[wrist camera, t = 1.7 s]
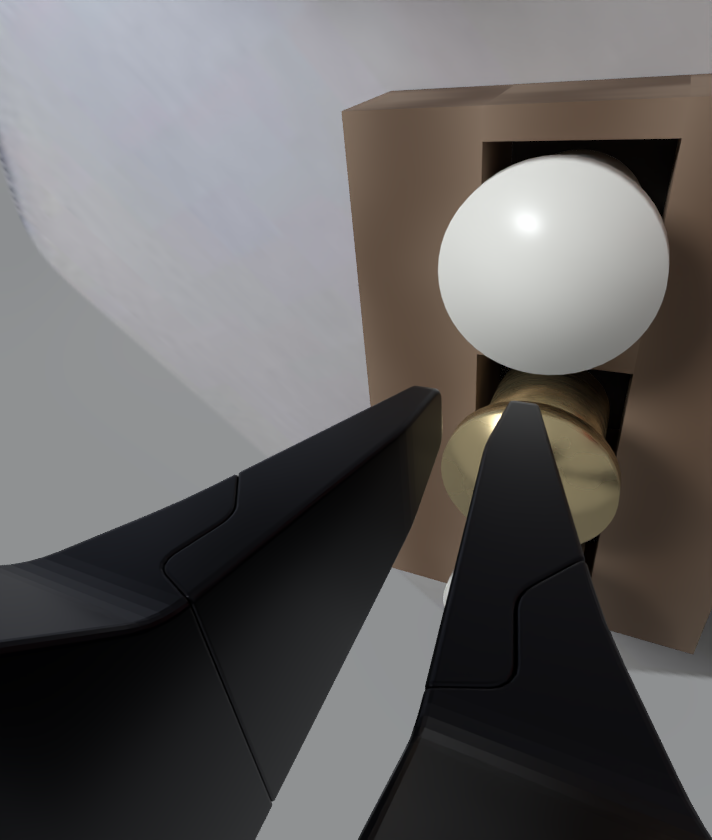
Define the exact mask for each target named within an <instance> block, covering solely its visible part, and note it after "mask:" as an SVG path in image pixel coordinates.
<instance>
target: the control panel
mask: <svg viewBox="0 0 712 840" xmlns="http://www.w3.org/2000/svg"><path fill="white" fill-rule="evenodd" d="M342 120H343V130H344V141H345V151H346V161H347V171H348V181H349V191H350V201H351V212H352V222H353V232H354V242H355V252H356V262H357V272H358V283H359V293H360V303H361V313H362V323H363V333H364V343H365V354H366V364H367V374H368V384H369V394H370V404H371V407H372V406H374V405H376V404H378V403H380V402H382V401H384V400H386V399H388V398H390V397H392V396H394V395H396V394H398V393H400V392H402V391H404V390H406V389H408V388H410V387H412V386H422V387H429V388H435V389H438V390H439V391H440V393H441V398H442V440H441V445H440V448H439V451H438V454H437V457H436V460H435V463H434V466H433V468H432V471H431V474H430V477H429V480H428V483H427V486H426V488H425V491H424V494H423V497H422V500H421V503H420V505H419V508H418V511H417V514H416V517H415V519H414V522H413V525H412V527H411V529H410V532H409V534H408V536H407V538H406V540H405V542H404V544H403V546H402V548H401V550H400V552H399V554H398V556H397V558H396V560H395V562H394V564H393V566H392V567H393V568H396V569H399V570H403V571H406V572H410V573H413V574H417V575H420V576H424V577H427V578H431V579H434V580H438V581H441V582H444V583H448V580H449V578H450V575H451V573H452V572H453V570H454V567H455V563H456V559H457V555H458V551H459V547H460V543H461V539H462V535H463V531H464V527H465V523H466V519H467V518H466V517H465V516H464V515H463V514H462V513H461V512H460V511H459V509H458V508H457V507H456V506H455V504H454V503H453V502H452V500H451V498H450V497H449V495H448V493H447V491H446V488H445V486H444V483H443V479H442V472H441V462H442V457H443V452H444V450H445V448H446V446H447V443H448V442H449V440H450V438H451V436H452V434H453V432H454V431H455V429H456V428H457V426H458V425H459V424H460V423H461V422H462V421H463V420H464V419H465V418H466V417H467V416H469V415H470V414H471V413H473V412H475V411H476V410H478V409H480V408H483V407H485V406H488V405H489V404H490V402H491V400H492V398H493V396H494V394H495V391H496V389H497V387H498V385H499V383H500V365H501V364H500V363H497V362H496V361H494V360H492V359H490V358H489V357H487V356H485V355H484V354H483V353H481V352H480V351H478V350H477V349H476V348H475V347H474V346H473V345H471V344H470V343H469V342H468V341H467V340H466V339H465V338H464V336H463V335H462V334H461V333H460V332H459V331H458V329H457V328H456V326H455V325H454V323H453V322H452V320H451V318H450V316H449V314H448V312H447V310H446V308H445V305H444V302H443V299H442V296H441V291H440V287H439V278H438V261H439V254H440V248H441V244H442V241H443V238H444V235H445V232H446V230H447V228H448V226H449V224H450V222H451V220H452V218H453V217H454V215H455V214H456V212H457V211H458V209H459V208H460V207H461V205H462V204H463V203H464V202H465V201H466V200H467V198H468V197H469V196H470V195H471V194H472V193H473V192H474V191H475V190H476V189H477V188H478V187H480V186H481V185H482V184H483V183H484V182H485V181H486V180H487V179H489V178H490V177H492V176H493V175H495V174H496V173H498V172H499V171H501V170H503V169H505V168H507V167H509V166H511V158H512V141H553V140H612V139H672V138H678V142H677V147H676V151H675V156H674V161H673V166H672V171H671V176H670V181H669V186H668V191H667V196H666V201H665V206H664V211H663V216H662V220H663V223H664V226H665V229H666V232H667V237H668V243H669V274H668V281H667V287H666V291H665V295H664V298H663V301H662V304H661V306H660V308H659V310H658V312H657V315H656V317H655V318H654V320H653V321H652V323H651V324H650V326H649V327H648V329H647V330H646V331H645V332H644V333H643V335H642V336H641V337H640V338H639V339H638V340H637V341H636V342H635V343H634V344H633V345H632V346H630V347H629V348H628V349H627V350H626V351H624V352H623V353H621V354H620V355H618V356H617V357H615V358H614V359H612V360H610V361H608V362H606V363H604V364H602V365H599V366H597V367H594V368H591V369H596V370H604V371H612V372H620V373H628V374H630V379H629V384H628V388H627V393H626V398H625V403H624V408H623V413H622V418H621V423H620V428H619V430H617V429H611V428H607V432H606V438H605V440H606V441H607V443H608V444H609V445H610V447H611V449H612V450H613V452H614V453H615V456H616V458H617V460H618V463H619V467H620V471H621V489H620V496H619V503H618V508H617V511H616V514H615V516H614V517H613V519H612V521H611V522H610V524H609V525H608V526H607V527H606V529H604V530H603V531H602V532H601V533H600V534H599V535H598V537H597V542H596V544H594V543H590V542H585V550H584V557H585V563H586V564H587V566H588V569H589V573H590V576H591V579H592V582H593V586H594V589H595V592H596V595H597V597H598V600H599V603H600V606H601V609H602V612H603V615H604V618H605V620H606V623H607V626H608V628H609V630H610V631H614V632H617V633H621V634H624V635H628V636H631V637H635V638H638V639H642V640H645V641H649V642H652V643H655V644H659V645H662V646H666V647H669V648H673V649H676V650H680V651H683V652H687V653H690V654H694V651H695V649H696V646H697V644H698V641H699V639H700V636H701V634H702V631H703V629H704V626H705V624H706V621H707V619H708V616H709V614H710V611H711V609H712V74H697V75H679V76H660V77H642V78H624V79H605V80H587V81H568V82H550V83H532V84H513V85H495V86H476V87H458V88H440V89H421V90H403V91H390V92H388V93H385V94H383V95H380V96H378V97H375V98H373V99H370V100H368V101H366V102H363V103H361V104H358V105H356V106H353V107H351V108H348V109H346V110H344V111H342Z"/></svg>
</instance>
